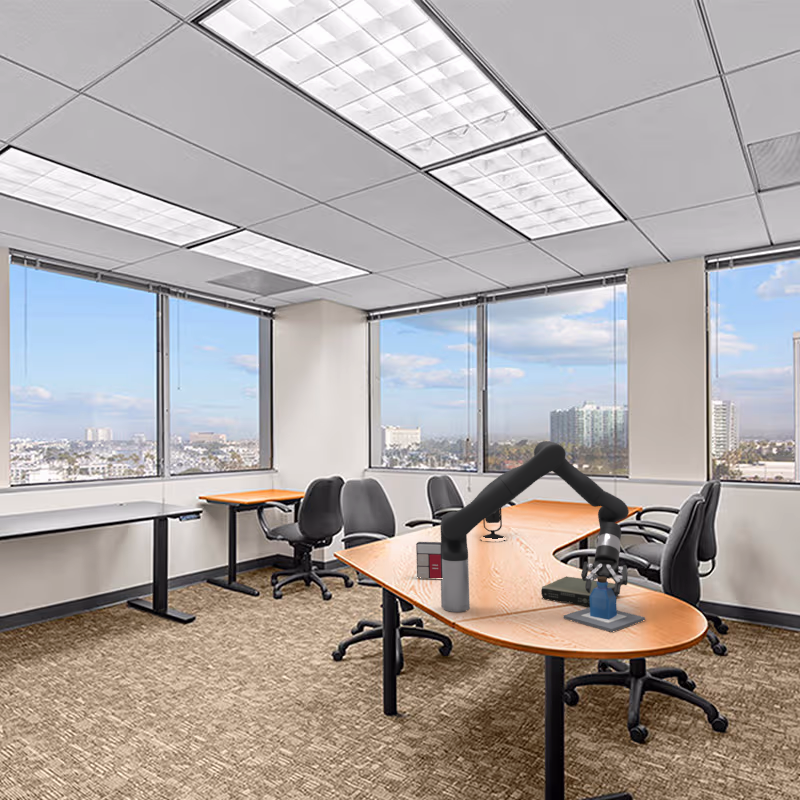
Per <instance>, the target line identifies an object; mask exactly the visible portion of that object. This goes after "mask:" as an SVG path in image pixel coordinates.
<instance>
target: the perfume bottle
mask: <svg viewBox="0 0 800 800" xmlns="http://www.w3.org/2000/svg"><path fill="white" fill-rule="evenodd" d="M596 581H597V585H598V587H596V588H594V589H593V591H592V593H591V595H590V616H593V617H598V618H603V619H608V620H609V619H611V618H613V617H614V616H616V615H617V610H618V608H617V597H616V596H615V594H614V592H613V590H612V589H611V588H608V587H607V585H608V583H609V581H608V579H607V578H606V577H597V579H596Z"/></svg>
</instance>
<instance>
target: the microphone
mask: <svg viewBox="0 0 800 800" xmlns="http://www.w3.org/2000/svg"><path fill="white" fill-rule="evenodd" d="M502 520H503V518H502V508H500V509H499V510H497V511H496V512H494V513H493V514H491V515H490V516H488V517H486V518H485V519H484V520H482V521H483V528H484V529H485V530H486V531H487V532H490V533H488V534H486V535H482V536H483V537H485V538H492V539H498V538H503V537H504V536H505V535H501V534H497V533H496V532H499V531H500V530H501V529H502V527H503V525H502V523H503V522H502ZM485 522H486V523H487V524H498V523H500V524H499V525H500V526H499V527H498V528H497V529H493V530H492V529H488V528H487V527H486V523H485Z"/></svg>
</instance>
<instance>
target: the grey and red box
mask: <svg viewBox="0 0 800 800" xmlns="http://www.w3.org/2000/svg"><path fill="white" fill-rule="evenodd" d="M415 545H416V550H415V551H416V552H415V553H416V578H417V577H418V578H420V577H421V578H443V577H442V550H441V541H440V542H439V541H418V542H417V543H416V544H415Z"/></svg>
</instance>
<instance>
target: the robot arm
mask: <svg viewBox="0 0 800 800" xmlns="http://www.w3.org/2000/svg"><path fill="white" fill-rule="evenodd" d="M551 472H552V473H554V474H555V475H556V476H558V477H559V478H561V479H562V480H563V482H565V483H566V484H567V485H568V486H570V487H571V489H572V490H573V491H575V492H576V493H577V494H578V495H579V496H580V497H581V498H582V499H583V500H584V501H586V502H587V503H588V505H590V506H592V507H595V508H596V507H597V508H598V507H599V509H598V513H597V518H598V523H599V525H598V526H599V528H600V529H599V534H598V539H597V542H596V548H595V555H594V561H593V563H589V562H588V561H584V562H583V566H582V569H581V573H580V575H581V579H583V581H586V585H585V588H586V591H587V592H588V593H590V591H591V584H592V583H591V582H592V581H593V580H595V581H597V577H606V578H607V580H610V579H612V580H613V582H614V584H615V588H614V594H615V596H617V597H618V596H619V595H620V593H621V586H627V585H628V577H629V576H628V574H629V571H628V566H627V565H626V564H623V565H622V566H619V562H620V561H619V559H620V552H621V538H622V528H621V526H620V525H619V523H618V522H620V521H622V520H625V519H626V518H627V517H628V516H629V513H630V511H629V507H628V505H627V504H626V503H625V501H624V500H622V499H621V498H619V497H617V496H616V495H613V494H612V493H610V492H608V491H606V490H604V489H603V488H602V487H601V486H600V485H599V484H597V482H595V481H594V480H593V479H592V478H590V477H589V476H588V475H586V474H585V473H583V472H582V471H580V470H579V469H578V468H577V467H575V466H574V464H572V463H571V462H569V461H568V460H567V459H566V450H565V448H564V447H563V446H562V445H561V444H559V443H556V442H554V441H549V440H544V441H541V442H539V443H537V444H536V445H535V448H534V451H533V456H532V457H531V458H529V459H528V461H526V462H525V463H523V464H521V465H518V466H517V467H514V468H512V469H510V470H508V471H506V472H504V473H502V474H500V475H499V476H498V477H497V478H494V479H493V480H492V481H490V482H489V483H488V484H487V485H486V486H485V487H484V488H483V489H482V490H481V491H480V492H479V493H478V494H477V496H475V498H474V499H473V500H472V501H470V503H468V504H466V505H464V507H462V508H461V509H459V510H457V511H449V512H447V513H445V514H444V515H443V517H442V518H441V521H440V542H441V550H442V577H443V579H442V580H440V598H441V599H440V602H441V604H440V605H441V608H442V609H443V610H444V611H447V612H453V613H461V612H466V610H467V611H469V610H470V605H471V604H470V578H469V576H470V574H469V573H470V571H469V569H470V568H469V549H468V538H467V536H468V535H469V533H470V532H471V531H472V530H474V528H475V527H477V526H478V525H479V524H480V523H481V522H482V521H483V520H484V519H485V518H486V517H488V516H490V515H491V514H493V513H494V512H496V511H497V510H499V509H500V508H501V509H502V508H503V507H505V506H506V505H508V504H509V503H510V502H511V501H513V500H514V499H516V497H518V496H519V495H520V494H522V493H523V492H525V490H527V489H528V488H529V487H531V486H532V485H533V484H534V483H535V482H537V481H538V480H540V479H542V478H543V477H545V476H546V475H548V474H549V473H551ZM590 570H591V571H590ZM589 571H590V573H589ZM619 571H620V573H621V574H622V576H621V579H620V578H619V576H618V575H617V574H618V572H619ZM468 609H469V610H468Z"/></svg>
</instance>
